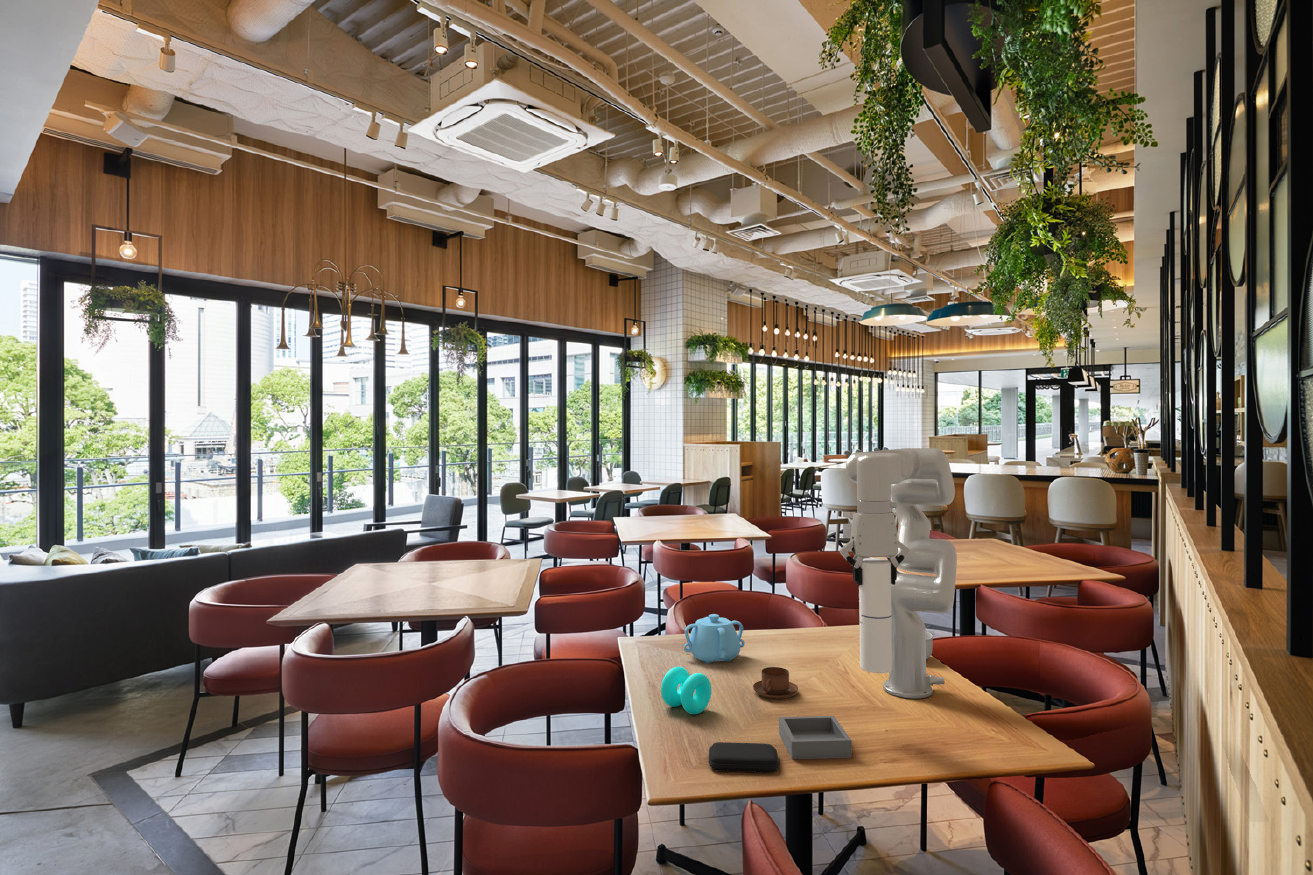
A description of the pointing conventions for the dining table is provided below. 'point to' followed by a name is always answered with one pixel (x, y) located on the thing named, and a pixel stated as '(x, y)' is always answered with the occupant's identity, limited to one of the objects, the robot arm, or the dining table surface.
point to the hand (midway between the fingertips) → (874, 583)
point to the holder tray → (814, 737)
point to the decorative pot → (714, 639)
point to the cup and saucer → (775, 684)
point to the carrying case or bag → (743, 757)
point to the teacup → (929, 644)
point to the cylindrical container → (875, 616)
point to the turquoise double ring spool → (686, 690)
